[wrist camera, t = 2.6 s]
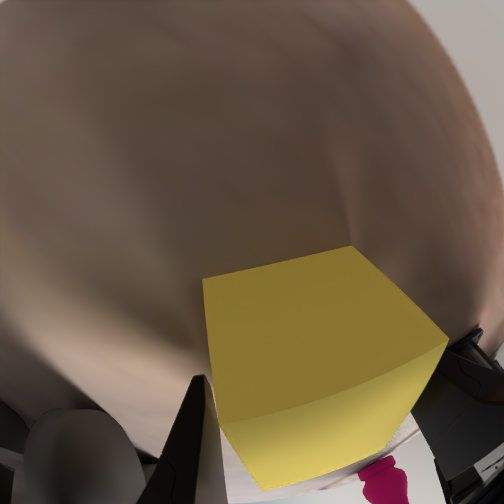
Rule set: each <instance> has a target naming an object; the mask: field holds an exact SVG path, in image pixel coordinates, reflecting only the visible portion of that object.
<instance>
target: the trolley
mask: <svg viewBox="0 0 504 504" xmlns="http://www.w3.org/2000/svg"><path fill="white" fill-rule="evenodd" d="M156 465H157V464H141V463H140V461H139V458H138V455H137V453H136V451H135V449H134V447H133V444H132V443H131V441H130V439H129V437H128V436H127V434H126V433H125V431H124V430H123V429H122V427H121V426H120V425H119V424H118V423H117V422H116V421H115V420H114V419H113V418H112V417H111V416H109V415H108V414H106V413H104V412H102V411H99V410H87V409H54V410H51V411H48V412H46V413H45V414H43V415H42V416H41V417H40V418H39V419H38V420H37V421H36V422H35V423H34V425H33V426H32V428H31V430H30V431H29V429H28V427H27V426H26V425H25V423H24V422H23V421H22V419H21V418H20V417H19V416H18V415H17V414H16V413H15V412H14V411H13V410H11V409H10V408H9V407H7V406H6V405H4V404H2V403H0V504H136V502H137V500H138V499H139V497H140V495H141V493H142V492H143V490H144V488H145V487H146V485H147V483H148V481H149V479H150V478H151V476H152V474H153V472H154V469H155V467H156Z"/></svg>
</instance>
